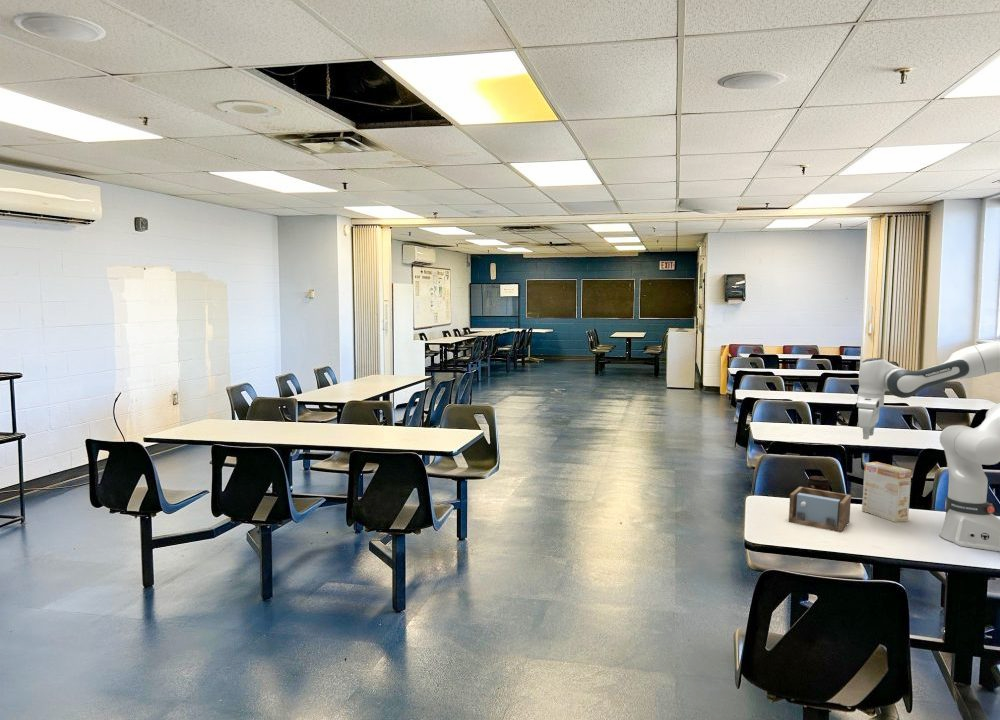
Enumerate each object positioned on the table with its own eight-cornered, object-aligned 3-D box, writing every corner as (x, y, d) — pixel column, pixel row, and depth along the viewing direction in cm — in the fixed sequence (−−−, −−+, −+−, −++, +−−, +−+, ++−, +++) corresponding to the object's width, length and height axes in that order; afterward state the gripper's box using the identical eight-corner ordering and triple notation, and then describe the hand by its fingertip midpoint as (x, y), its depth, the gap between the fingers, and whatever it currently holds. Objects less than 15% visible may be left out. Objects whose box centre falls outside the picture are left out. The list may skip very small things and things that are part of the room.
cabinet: (849, 522, 254) (850, 495, 253) (841, 532, 243) (843, 503, 242) (798, 513, 265) (799, 486, 264) (788, 521, 254) (790, 494, 253)
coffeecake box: (909, 520, 257) (912, 470, 256) (895, 522, 255) (898, 471, 253) (874, 509, 271) (877, 461, 269) (861, 511, 268) (864, 462, 267)
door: (838, 523, 247) (840, 499, 247) (836, 527, 244) (837, 502, 243) (798, 516, 256) (799, 492, 255) (795, 519, 252) (796, 495, 252)
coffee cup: (831, 509, 270) (832, 477, 269) (828, 514, 263) (830, 481, 262) (807, 505, 275) (808, 473, 274) (803, 510, 268) (805, 478, 267)
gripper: (866, 397, 266) (863, 432, 268) (856, 402, 250) (853, 440, 251) (884, 398, 263) (882, 434, 264) (875, 404, 246) (873, 442, 248)
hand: (868, 437), depth 257 cm, fingers open, 8 cm apart
